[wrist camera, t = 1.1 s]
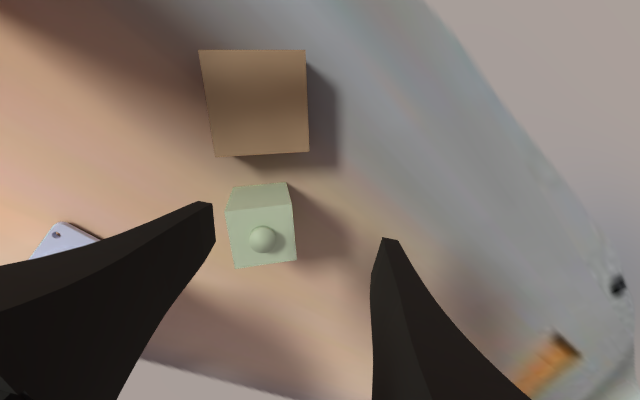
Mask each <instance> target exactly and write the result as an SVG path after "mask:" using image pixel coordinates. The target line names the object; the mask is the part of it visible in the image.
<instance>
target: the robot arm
mask: <svg viewBox="0 0 640 400" xmlns="http://www.w3.org/2000/svg"><path fill="white" fill-rule="evenodd" d="M56 232H58V233H60V235H61V236H58V235H57V234H56ZM215 242H216V238H215V227H214V217H213V206H212V203H206V202H201V201H197V202H194V203H192V204H189V205H187V206H185V207H182V208H180V209H178V210H175V211H173V212H171V213H169V214H166V215H164V216H162V217H160V218H157V219H155V220H153V221H150V222H148V223H146V224H143V225H141V226H138V227H136V228H133V229H130V230H128V231H125V232H123V233H120V234H118V235H115V236H112V237H109V238H106V239H103V240H99V239H97V238H95V237H93V236H92V235H90V234H88V233H86V232H84V231H82V230H80V229H78V228H76V227H74V226H72V225H71V224H69V223H66V222H58V223H56V224H55V225H53V226H52V228H51V229H50V231H49V232H48V233H47V235H46V236H45V237H44V239H43V240H42V242H41V243H40V244H39V246H38V247H37V248H36V250H35V251H34V253H33V254H32V255H31V257H30V258H29V259H28V260H26V261H21V262H17V263H12V264H7V265H2V266H0V400H117V398H118V396H119V394H120V392H121V390H122V388H123V386H124V384H125V383H126V381H127V379H128V377H129V375H130V373H131V371H132V369H133V368H134V366H135V364H136V362H137V361H138V359H139V357H140V355H141V354H142V352H143V350H144V348H145V347H146V345H147V343H148V342H149V340H150V338H151V336H152V335H153V333H154V332H155V330H156V328H157V327H158V325H159V323H160V322H161V320H162V319H163V317H164V315H165V314H166V312H167V311H168V310H169V308H170V307H171V305H172V304H173V303H174V301H175V300H176V299H177V297H178V296H179V295H180V293H181V292H182V291H183V289H184V288H185V287H186V286H187V284H188V283H189V282H190V280H191V279H192V278H193V276H194V275H195V274H196V272H197V271H198V270H199V268H200V267H201V266H202V264H203V263H204V261H205V260H206V258H207V256H208V255H209V253H210V251H211V249H212V247H213V246H214V244H215ZM370 309H371V326H372V343H373V383H372V400H531V399H530V398H529V397H528V396H527V395H525V394H524V393H523V392H522V391H521V390H520V389H519V388H517V387H516V386H515V385H514V384H513V383H512V382H511V381H510V380H509V379H508V378H507V377H505V376H504V375H503V374H502V373H501V372H500V371H499V370H498V369H497V368H496V367H495V366H494V365H493V364H492V363H491V362H490V361H489V360H488V359H487V358H485V357H484V356H483V355H482V354H481V352H480V351H479V350H478V349H477V348H476V347H475V346H474V345H473V344H472V343H471V342H470V341H469V340H468V339H467V338H466V337H465V336H464V335H463V333H462V332H461V331H460V330H459V329H458V328H457V327H456V325H455V324H454V323H453V322H452V321H451V320H450V318H449V317H448V316H447V315H446V314H445V312H444V311H443V310H442V309H441V307H440V306H439V305H438V303H437V302H436V301H435V299H434V298H433V296H432V295H431V294H430V292H429V291H428V289H427V288H426V286H425V285H424V283H423V282H422V280H421V279H420V277H419V276H418V274H417V272H416V271H415V269H414V267H413V266H412V264H411V262H410V261H409V259H408V257H407V255H406V254H405V252H404V250H403V248H402V247H401V245H400V243H399V241H398V240H394V239H389V238H384V237H382V240H381V244H380V247H379V250H378V253H377V257H376V260H375V263H374V266H373V270H372V273H371V284H370Z"/></svg>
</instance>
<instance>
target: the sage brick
mask: <svg viewBox="0 0 640 400" xmlns="http://www.w3.org/2000/svg"><path fill="white" fill-rule="evenodd" d="M224 212H225V218H226V223H227V229H228V234H229V239H230V245H231V250H232V256H233V261H234V266H235V269H238V268H245V267H252V266H259V265H265V264H272V263H279V262H286V261H293V260H297V256H296V245H295V234H294V223H293V212H292V203H291V199H290V196H289V192H288V188H287V184H286V182H281V183H271V184H261V185H251V186H241V187H233V189H232V192H231V195H230V197H229V200H228V203H227V206H226V208H225V211H224Z"/></svg>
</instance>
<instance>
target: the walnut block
mask: <svg viewBox="0 0 640 400" xmlns="http://www.w3.org/2000/svg"><path fill="white" fill-rule="evenodd" d="M198 53H199V59H200V65H201V72H202V78H203V84H204V90H205V97H206V103H207V109H208V115H209V122H210V128H211V134H212V140H213V147H214V153H215V157H228V156H244V155H261V154H278V153H295V152H309V129H308V105H307V80H306V55H305V50H198Z"/></svg>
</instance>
